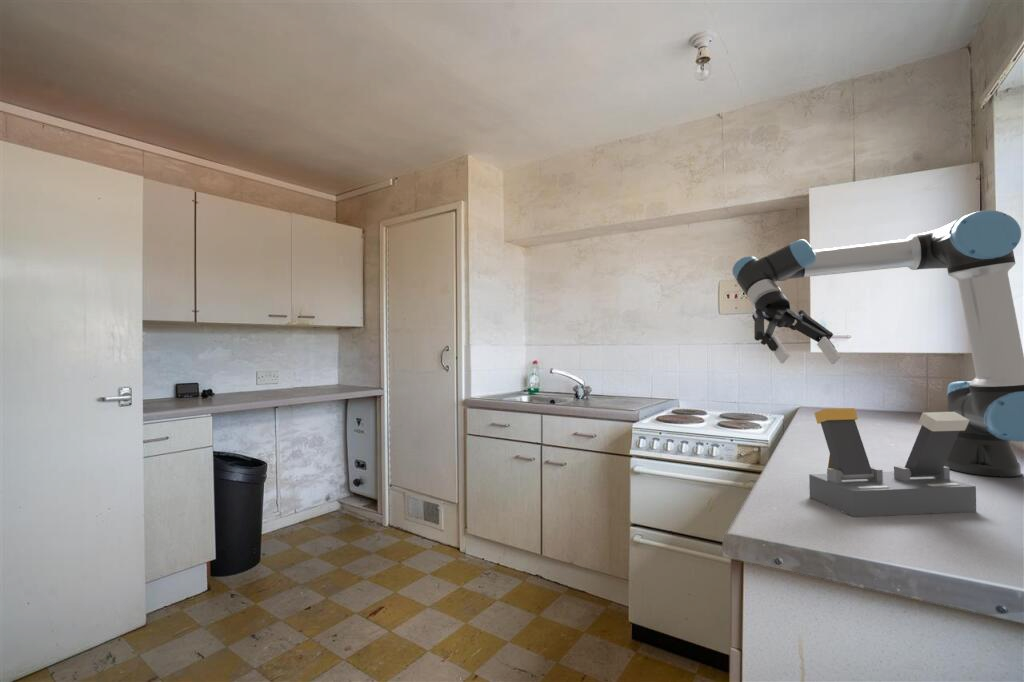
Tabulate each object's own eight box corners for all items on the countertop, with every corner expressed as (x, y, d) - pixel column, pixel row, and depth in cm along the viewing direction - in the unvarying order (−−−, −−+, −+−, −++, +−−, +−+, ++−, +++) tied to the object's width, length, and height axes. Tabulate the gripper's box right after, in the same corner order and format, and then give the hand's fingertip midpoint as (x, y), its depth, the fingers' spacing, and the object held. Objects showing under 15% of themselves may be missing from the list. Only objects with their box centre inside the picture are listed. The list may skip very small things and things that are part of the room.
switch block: (919, 492, 106) (919, 459, 106) (976, 511, 94) (975, 473, 94) (809, 497, 104) (809, 462, 104) (853, 516, 92) (852, 478, 92)
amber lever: (834, 481, 99) (814, 412, 105) (866, 479, 100) (843, 412, 106) (845, 479, 96) (823, 408, 102) (877, 477, 97) (854, 408, 103)
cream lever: (898, 471, 101) (922, 412, 96) (928, 470, 102) (954, 411, 96) (911, 481, 98) (936, 420, 93) (942, 480, 99) (969, 420, 93)
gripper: (802, 312, 131) (847, 370, 117) (719, 309, 127) (755, 369, 113) (818, 291, 126) (867, 349, 111) (732, 287, 122) (771, 348, 107)
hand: (811, 360), depth 112 cm, fingers open, 13 cm apart
